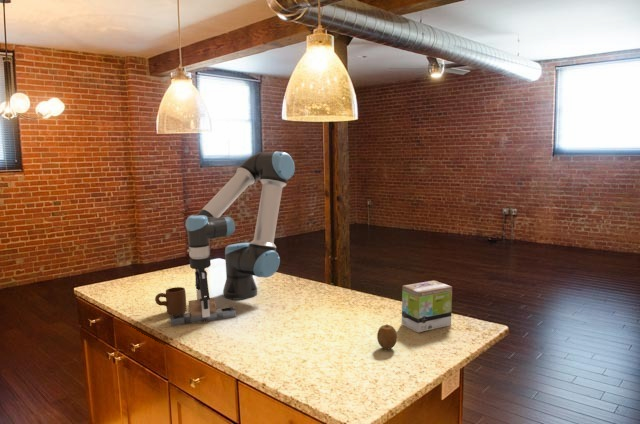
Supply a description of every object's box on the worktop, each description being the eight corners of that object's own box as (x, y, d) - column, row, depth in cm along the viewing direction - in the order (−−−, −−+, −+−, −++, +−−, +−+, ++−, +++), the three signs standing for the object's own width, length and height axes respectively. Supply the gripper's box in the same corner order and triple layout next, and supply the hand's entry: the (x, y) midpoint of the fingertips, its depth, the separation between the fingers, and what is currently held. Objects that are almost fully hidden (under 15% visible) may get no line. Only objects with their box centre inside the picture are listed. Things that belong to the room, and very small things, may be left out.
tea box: (419, 334, 161) (419, 292, 159) (401, 324, 170) (400, 285, 168) (452, 325, 168) (452, 285, 166) (433, 317, 177) (433, 279, 175)
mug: (159, 319, 181) (158, 295, 180) (153, 314, 187) (151, 291, 186) (189, 312, 188) (188, 289, 187) (182, 308, 194) (181, 285, 193)
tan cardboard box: (213, 315, 185) (212, 297, 184) (216, 320, 178) (215, 302, 178) (189, 318, 182) (188, 300, 181) (191, 324, 175) (190, 306, 174)
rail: (233, 312, 187) (232, 306, 186) (235, 316, 182) (235, 310, 182) (169, 322, 178) (169, 315, 178) (170, 326, 173) (170, 319, 173)
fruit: (383, 354, 145) (383, 329, 144) (373, 347, 151) (373, 323, 150) (400, 350, 148) (400, 326, 147) (390, 343, 153) (390, 319, 152)
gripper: (186, 251, 187) (189, 303, 190) (193, 265, 164) (197, 323, 167) (205, 249, 190) (208, 300, 193) (215, 262, 167) (219, 320, 170)
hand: (203, 311), depth 180 cm, fingers open, 13 cm apart
